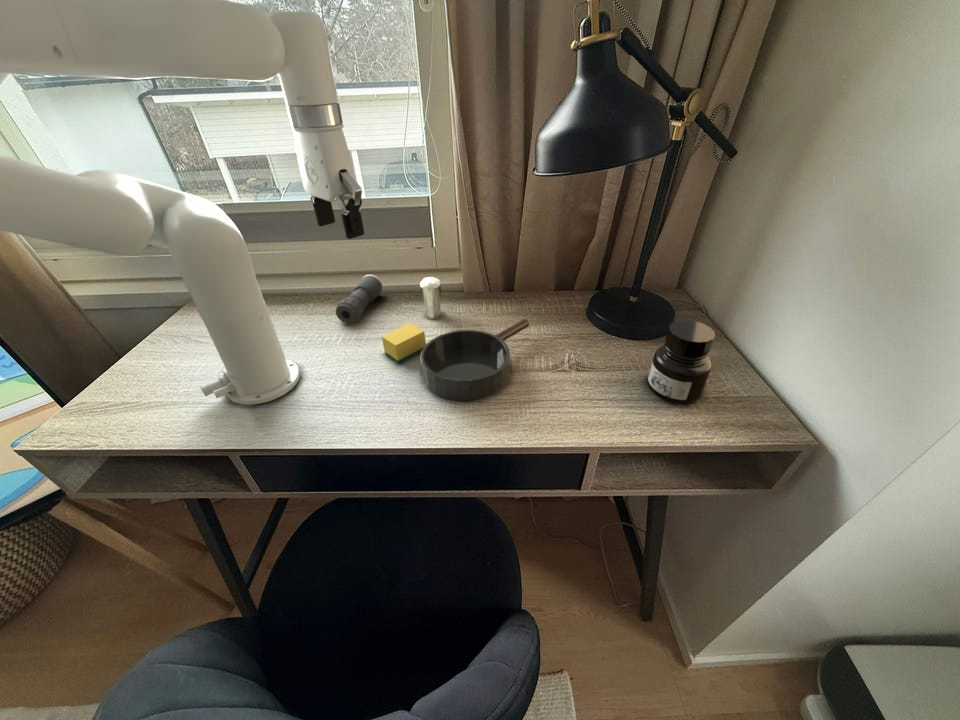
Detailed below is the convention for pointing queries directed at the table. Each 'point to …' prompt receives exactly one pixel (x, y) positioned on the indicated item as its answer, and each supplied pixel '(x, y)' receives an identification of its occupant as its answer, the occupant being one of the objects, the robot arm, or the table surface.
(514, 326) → the pan handle
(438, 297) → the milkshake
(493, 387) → the pan
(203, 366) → the table surface
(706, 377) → the ink bottle
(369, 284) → the flashlight
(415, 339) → the sponge
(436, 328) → the table surface
